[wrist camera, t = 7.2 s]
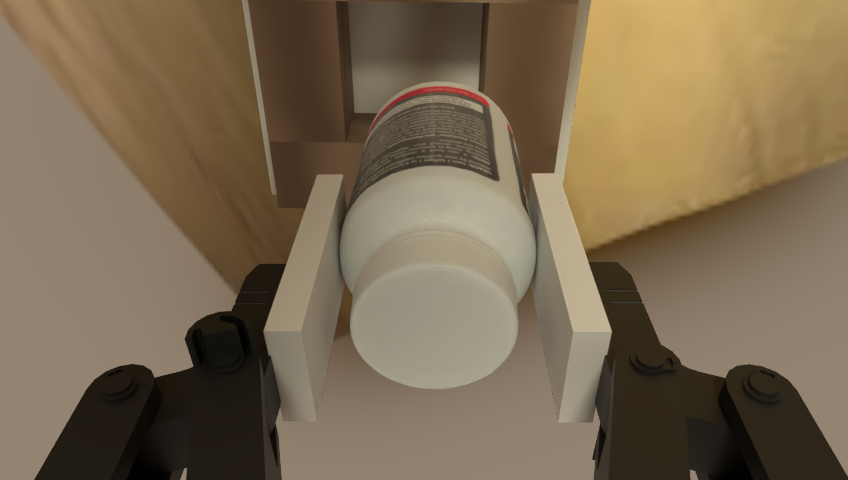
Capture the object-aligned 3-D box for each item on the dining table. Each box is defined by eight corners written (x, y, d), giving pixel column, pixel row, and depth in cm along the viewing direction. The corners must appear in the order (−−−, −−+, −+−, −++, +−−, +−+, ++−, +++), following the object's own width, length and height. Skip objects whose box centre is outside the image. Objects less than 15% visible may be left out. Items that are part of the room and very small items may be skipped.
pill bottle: (338, 154, 22) (273, 338, 14) (433, 43, 20) (420, 189, 12) (447, 235, 24) (444, 439, 16) (546, 143, 22) (601, 327, 14)
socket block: (275, 186, 39) (255, 229, 35) (225, -147, 29) (189, -144, 25) (557, 191, 38) (572, 235, 34) (607, -144, 28) (636, -140, 24)
